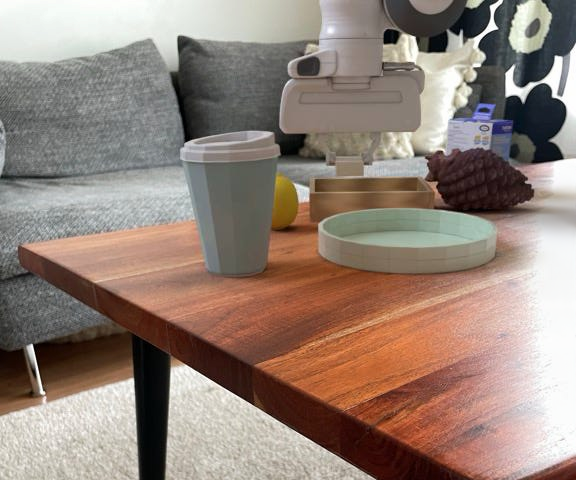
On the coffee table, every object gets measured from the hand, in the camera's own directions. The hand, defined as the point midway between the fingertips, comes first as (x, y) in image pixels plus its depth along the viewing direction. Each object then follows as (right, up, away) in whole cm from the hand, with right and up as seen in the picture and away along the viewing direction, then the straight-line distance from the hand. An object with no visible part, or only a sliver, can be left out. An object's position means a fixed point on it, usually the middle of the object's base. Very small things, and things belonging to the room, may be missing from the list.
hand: (348, 165), depth 106 cm
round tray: (+5, -16, -18) cm, 25 cm away
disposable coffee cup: (-15, -20, -24) cm, 35 cm away
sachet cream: (0, -1, 0) cm, 1 cm away
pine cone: (+20, -5, +6) cm, 22 cm away
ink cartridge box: (+23, 0, +17) cm, 28 cm away
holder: (+3, -7, +3) cm, 8 cm away
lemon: (-10, -11, -6) cm, 17 cm away
